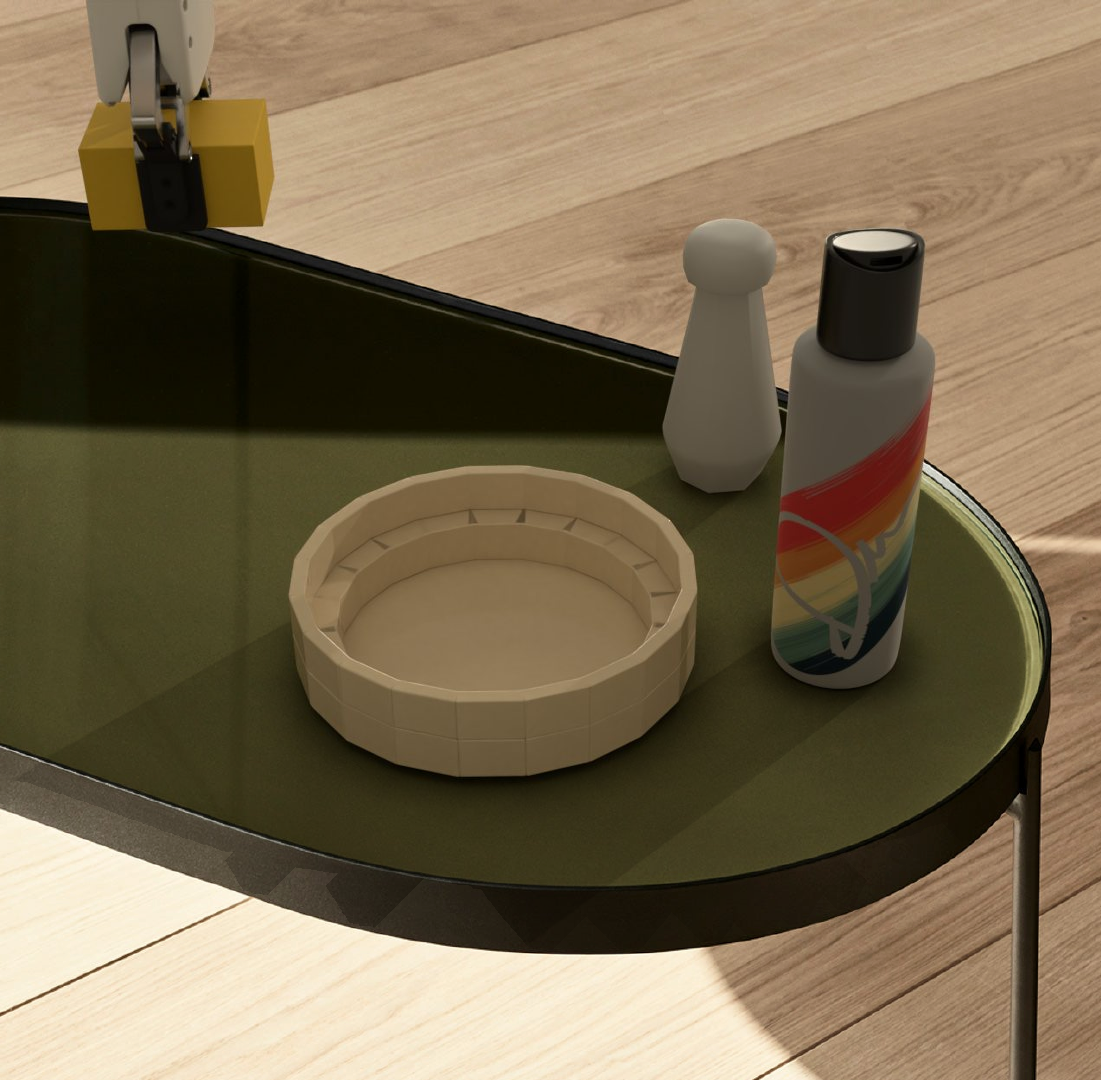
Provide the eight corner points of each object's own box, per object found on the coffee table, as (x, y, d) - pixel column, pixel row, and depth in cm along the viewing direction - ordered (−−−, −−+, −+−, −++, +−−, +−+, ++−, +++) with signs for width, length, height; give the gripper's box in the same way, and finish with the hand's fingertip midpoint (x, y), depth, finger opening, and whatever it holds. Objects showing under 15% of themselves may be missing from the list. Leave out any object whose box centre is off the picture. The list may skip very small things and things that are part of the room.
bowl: (281, 789, 82) (270, 704, 79) (316, 547, 95) (308, 467, 92) (705, 783, 82) (709, 698, 79) (680, 543, 95) (683, 462, 92)
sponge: (92, 231, 105) (77, 149, 102) (110, 181, 109) (96, 102, 106) (263, 227, 105) (253, 145, 102) (274, 177, 109) (265, 98, 106)
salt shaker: (748, 431, 103) (763, 195, 95) (797, 488, 99) (816, 246, 90) (643, 454, 101) (648, 215, 93) (688, 512, 97) (698, 268, 89)
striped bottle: (787, 698, 86) (822, 274, 73) (756, 621, 90) (784, 208, 78) (914, 684, 87) (971, 262, 74) (877, 608, 91) (925, 196, 78)
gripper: (86, -203, 102) (140, 135, 113) (20, -92, 89) (89, 278, 100) (233, -207, 102) (272, 132, 113) (189, -95, 88) (238, 275, 100)
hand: (186, 197), depth 107 cm, fingers closed on sponge, 6 cm apart
